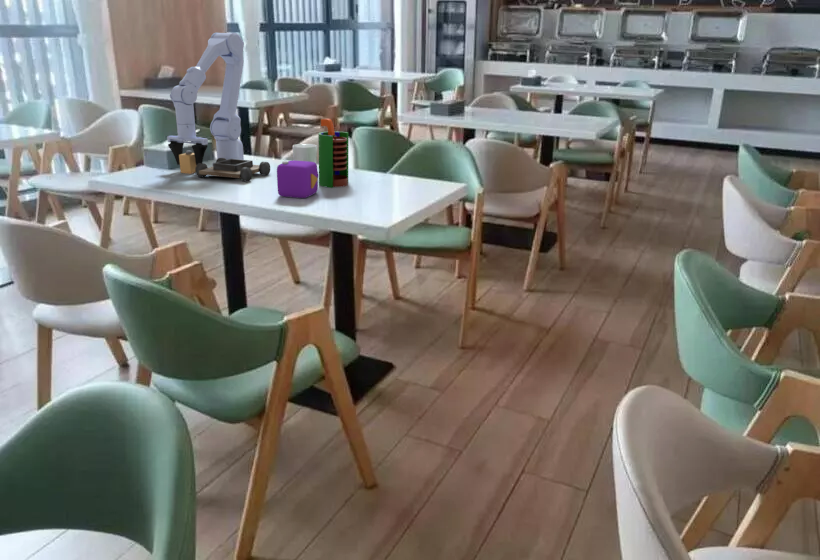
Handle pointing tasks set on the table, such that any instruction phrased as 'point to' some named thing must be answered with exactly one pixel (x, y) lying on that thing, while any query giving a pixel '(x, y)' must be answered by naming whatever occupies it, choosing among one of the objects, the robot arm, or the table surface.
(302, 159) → the white cup
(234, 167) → the chassis
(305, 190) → the purple arrow cube
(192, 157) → the tan block with knob
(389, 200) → the table surface
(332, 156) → the motor
